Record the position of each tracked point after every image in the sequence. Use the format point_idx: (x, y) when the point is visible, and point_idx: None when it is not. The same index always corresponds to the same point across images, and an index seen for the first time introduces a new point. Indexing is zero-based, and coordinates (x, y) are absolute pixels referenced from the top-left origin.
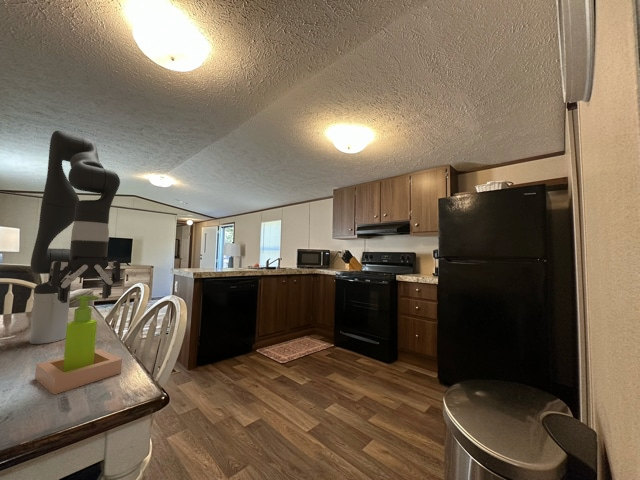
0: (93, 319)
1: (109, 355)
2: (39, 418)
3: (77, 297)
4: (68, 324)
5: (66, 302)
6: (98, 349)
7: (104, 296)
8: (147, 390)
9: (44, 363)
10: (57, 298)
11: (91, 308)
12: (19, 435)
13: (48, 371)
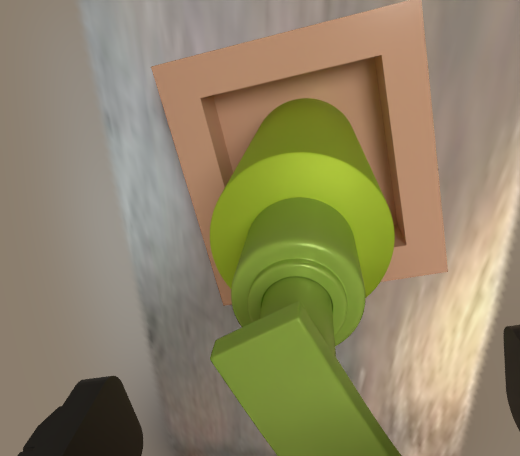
0: (376, 225)
1: (424, 176)
2: (210, 390)
3: (222, 369)
4: (218, 267)
5: (140, 441)
6: (411, 9)
7: (517, 403)
8: (440, 430)
9: (180, 86)
10: (39, 431)
11: (359, 321)
12: (185, 431)
13: (201, 217)
